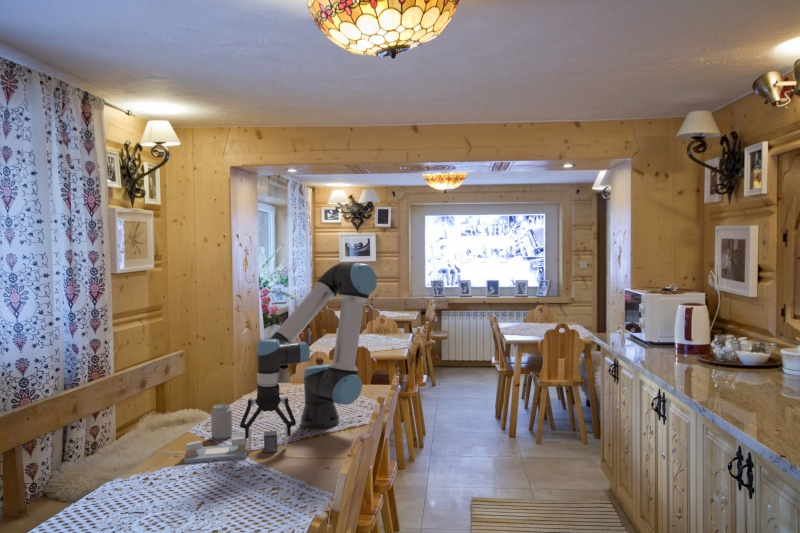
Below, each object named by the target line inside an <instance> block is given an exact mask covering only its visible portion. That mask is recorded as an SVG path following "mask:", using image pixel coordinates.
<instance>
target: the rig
mask: <svg viewBox="0 0 800 533" xmlns="http://www.w3.org/2000/svg"><path fill="white" fill-rule="evenodd" d="M248 450H249V442H248V438H245V436H235V437H232V438H231V444H224V445H223V444H222V445H211V446H210V445H209V446H203V441H202V440H197V441H196V440H195V441H192V442H188V443H185V456H184V459H183V464H184V465H185V464H194V462H197V463H203V462H202V461H208V462H214V461H213V460H219V461H227V460H228V459H229V460H230V461H231V460H240V459H247V456H248Z"/></svg>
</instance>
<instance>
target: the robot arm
mask: <svg viewBox="0 0 800 533" xmlns="http://www.w3.org/2000/svg"><path fill="white" fill-rule="evenodd" d="M377 285H378V276H377V274H376V271H375V269H373V267H372V266H371V265H369V264H366V263H361V262H357V263H356V262H353V263H352V262H351V263H350V262H340V263H337V264H335V265H333V266H331V267H329V269H328V270H326V271H325V272H324V273H323V274H321V276H320V277H318V279H317V280H316V281H315V282H314V288H313V289H312V290H311V291H310V292H309V293H308V295H306V297H305V298H304V299H303V300H302V301H301V302H300V304H299V305H298V306H297V307H296V308H295V309H294V310H293V312H291V314H290V315H289V316H288V317H287V319H286V320H285V321H284V322H283V323H281V325H280V326H279V327H278V329H277V330H276V331H275V332H274V333H273V334H272V335H271V336H270V337H266V338H263V339H260V340H258V342H257V346H256V347H257V350H256V355H257V356H256V359H257V360H256V362H257V364H256V365H257V366H256V367H257V371H256V373H257V374H256V377H257V378H256V383H257V384H258V385H257V387H256V389H257V390H256V399H254V398H253V399H252V398H248V400H247V407H246V409H245V411H244V413H243V416H242V418H241V421H240V424H239V428H240V429H244V431H245V435H244V437H245V438H247V439H248V450H249V449H250V450H251V449H252V427H251V426H252V425H253V423H254V422H255V420H256V419H257V417H258V416H259V415H260V414H261V412H263V413H264V412H265V413H266V412H274V411H275V413H276V414H277V415H278V416H279V417H280V419H281V420H282V422H283V423H284V424H285V425H284V447H288V437H291V435H292V434H291V432H292V431H291V430H292V428H291V427H292V426H296V425H297V422H296V419H295V416H294V414H293V411H292V409H291V407H290V404H289V397H288V396H286V397H283V398H282V397H281V396H280V366H285V365H287V366H288V365H293V364H302V363H305V362H307V361H308V360H309V358H310V355H311V350H310V346H309V344H308V343H307V342H305V341H295V340H296V339H297V338H298V337H299V336H300V335H301V333H302V332H303V331H304V329H306V327H307V326H308V325H309V324H310V323H311V321H312V320H313V319H314V318H315V317H316V316H317V314H319V312H320V311H321V310H322V309H323V308H324V306H325V305H326V304H327V303H328V301H330V300H331V301H332V300H333V299H335V297H336V296H337V295H338V296H339V298H340V299H341V304H340V305H341V307H340V312H339V319H338V326H337V333H336V341H335V345H334V347H335V348H334V353H333V359H332V362H331V363H330V364H318V365H313V366H307V367H305V369H304V370H303V383H304V384H303V385H304V387H303V388H304V407H303V411H302V414H301V418H300V425H301V427H304V428H307V429H317V430H318V429H326V428H331V427H334V426H336V425H338V424H339V423H340V417H339V413H338V409H337V407H336V404H337V405H345V406H348V405H351V404H353V403H355V401H357V400H358V399H359V397H360V395H361V394H362V390H363V383H362V380H361V378H360V377H359V375H358V374H359V368H358V367H357V366H356V361H357V354H358V353H357V352H358V349H359V348H358V346H359V339H360V332H361V325H362V320H363V312H364V305H365V303H366V302H368V301H369V298H370V294H371V293H373V292H374V291H375V290H376V288H377ZM281 403H282V405H283V406H284V407H285V410H286V412H287V414H288V416H289V419H288V418H287V416H286V415H285V414H284V413H283V411H282V409H281V408H280V407H279V405H280V404H281ZM255 404H256V405H257V408H256V410H255V412H254V413H253V414H252V416H251V417H250V418H249V420H248V421H247V418H248V416H249V413H250V411H251V409H252V407H254V405H255ZM289 420H290V421H289ZM246 421H247V423H246Z"/></svg>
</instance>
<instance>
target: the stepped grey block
mask: <svg viewBox="0 0 800 533" xmlns="http://www.w3.org/2000/svg"><path fill="white" fill-rule="evenodd" d="M263 444H264V445H263V449H264V450H263V452H264V454H267V453H268V454H269V453H277V452H278V431H277V430H272V431H271V430H270V431H264V432H263Z"/></svg>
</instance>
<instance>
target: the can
mask: <svg viewBox="0 0 800 533" xmlns="http://www.w3.org/2000/svg"><path fill="white" fill-rule="evenodd" d="M210 422H211V425H210V427H211V438H213V439H214V440H218V441H223V440H227V439H229V438H231V436H232V435H233V409H232V407H231V405H230V404H228V403H220V404H219V403H218V404H215V405H213V406H212V409H211V410H210Z"/></svg>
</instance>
